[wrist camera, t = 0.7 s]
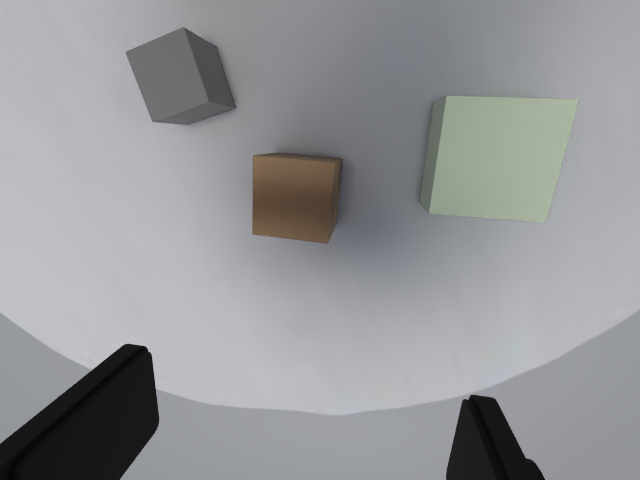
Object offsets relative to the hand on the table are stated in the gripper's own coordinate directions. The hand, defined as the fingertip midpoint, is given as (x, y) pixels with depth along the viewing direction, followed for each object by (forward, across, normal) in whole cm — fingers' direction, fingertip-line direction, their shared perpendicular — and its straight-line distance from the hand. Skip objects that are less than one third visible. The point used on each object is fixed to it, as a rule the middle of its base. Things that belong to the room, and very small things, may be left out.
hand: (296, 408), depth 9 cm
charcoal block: (+21, +14, -12) cm, 28 cm away
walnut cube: (+21, +4, -4) cm, 22 cm away
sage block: (+21, -10, -7) cm, 25 cm away
